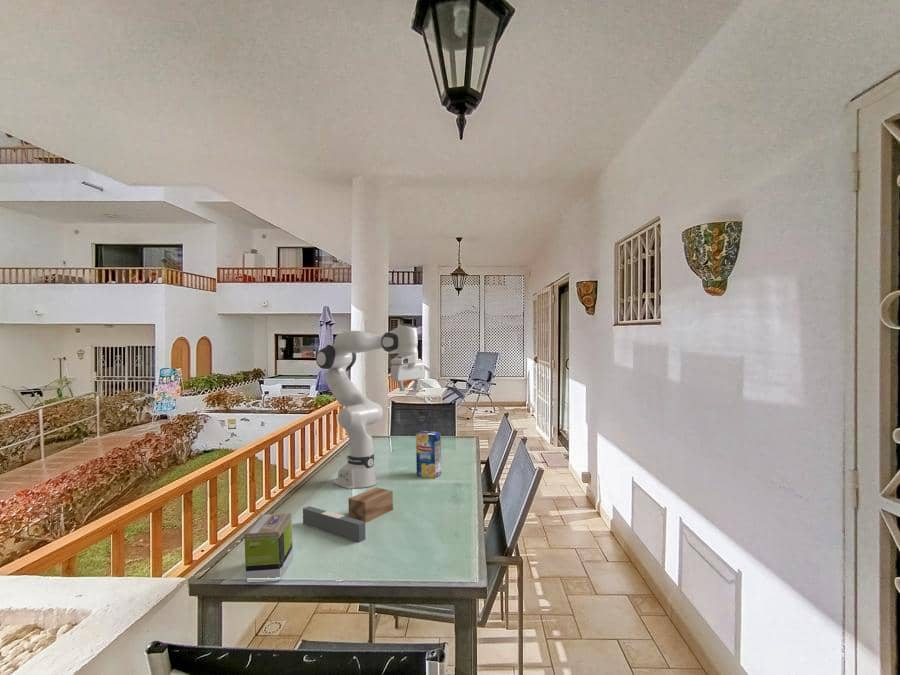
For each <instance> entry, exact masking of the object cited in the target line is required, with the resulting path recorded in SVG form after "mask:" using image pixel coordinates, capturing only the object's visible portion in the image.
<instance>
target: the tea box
mask: <svg viewBox="0 0 900 675" xmlns="http://www.w3.org/2000/svg"><path fill="white" fill-rule="evenodd" d="M292 521H293V520H292V512H283V513H272V514H271V513H270V514H260V515H259V517H257V519H256V520H255V521H254V523H252V525H251V526H250V527H249V529H248V530H247V531H246V532H245V533H244V559H245V560H244V562H245V564H244V566H245V579H246V578H268V577H269V578H276V577H281V576H282V574H283V573H284V574H285V572H286V571H285V569H286V568H287V569H288V567H287V566H289V565H290V563H291V562H290V561H292V560H291V559H293V558H294V550H293V546H294V545H293V529H292V528H293V524H292ZM288 564H289V565H288ZM287 569H286V570H287ZM284 571H285V572H284ZM284 574H283V575H284ZM282 577H283V576H282Z"/></svg>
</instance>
